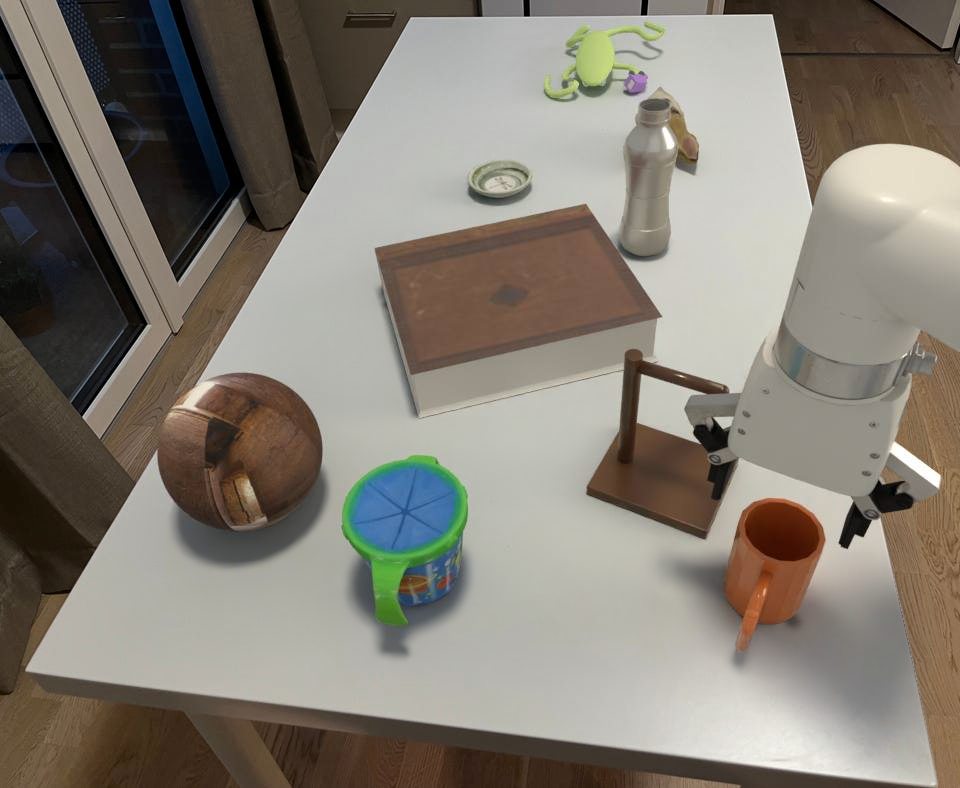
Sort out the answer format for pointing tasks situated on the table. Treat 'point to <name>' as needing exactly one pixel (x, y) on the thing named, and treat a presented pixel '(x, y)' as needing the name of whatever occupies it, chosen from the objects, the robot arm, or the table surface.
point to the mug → (771, 563)
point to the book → (512, 308)
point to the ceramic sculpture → (679, 129)
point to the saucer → (499, 178)
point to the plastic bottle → (648, 179)
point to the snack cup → (407, 532)
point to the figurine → (601, 59)
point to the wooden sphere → (239, 451)
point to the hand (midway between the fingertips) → (781, 509)
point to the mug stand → (658, 459)
